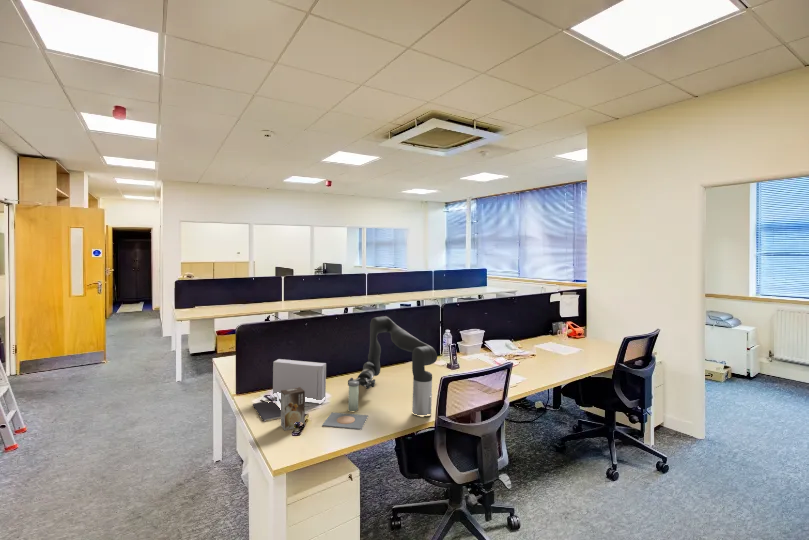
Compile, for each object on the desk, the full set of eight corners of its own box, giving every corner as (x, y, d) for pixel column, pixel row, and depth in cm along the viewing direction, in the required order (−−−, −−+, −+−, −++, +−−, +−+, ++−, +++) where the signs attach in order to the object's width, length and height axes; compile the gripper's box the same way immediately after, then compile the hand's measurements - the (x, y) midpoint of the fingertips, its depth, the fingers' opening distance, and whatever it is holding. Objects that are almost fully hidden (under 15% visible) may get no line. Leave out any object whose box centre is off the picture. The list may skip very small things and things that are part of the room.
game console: (320, 404, 195) (321, 366, 194) (272, 399, 200) (273, 361, 200) (325, 400, 201) (326, 363, 200) (278, 395, 206) (278, 358, 205)
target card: (368, 416, 183) (368, 415, 183) (361, 429, 169) (361, 428, 169) (331, 413, 185) (331, 412, 185) (322, 426, 171) (322, 424, 171)
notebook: (252, 406, 191) (263, 422, 174) (252, 403, 191) (263, 419, 174) (278, 401, 199) (291, 416, 181) (278, 398, 199) (291, 413, 181)
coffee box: (300, 420, 176) (300, 386, 175) (304, 426, 171) (305, 390, 170) (280, 425, 171) (280, 389, 170) (284, 431, 166) (284, 394, 165)
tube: (359, 408, 192) (360, 380, 192) (356, 412, 187) (357, 384, 186) (349, 407, 193) (350, 380, 192) (346, 411, 188) (347, 383, 187)
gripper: (353, 369, 216) (345, 379, 200) (378, 371, 215) (372, 381, 198) (353, 383, 217) (345, 393, 201) (377, 384, 215) (371, 395, 199)
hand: (358, 387), depth 200 cm, fingers open, 8 cm apart
